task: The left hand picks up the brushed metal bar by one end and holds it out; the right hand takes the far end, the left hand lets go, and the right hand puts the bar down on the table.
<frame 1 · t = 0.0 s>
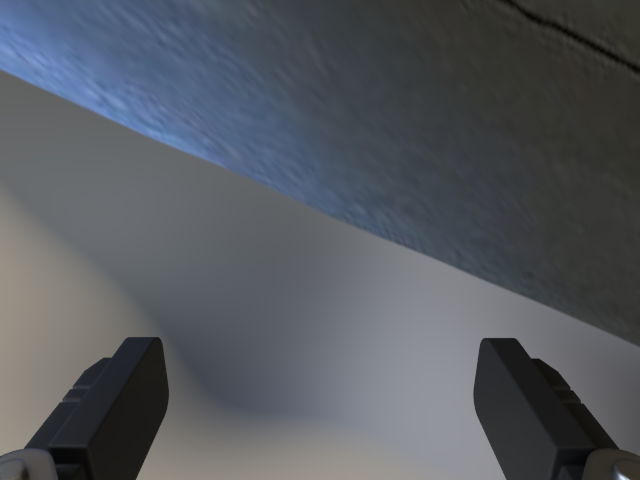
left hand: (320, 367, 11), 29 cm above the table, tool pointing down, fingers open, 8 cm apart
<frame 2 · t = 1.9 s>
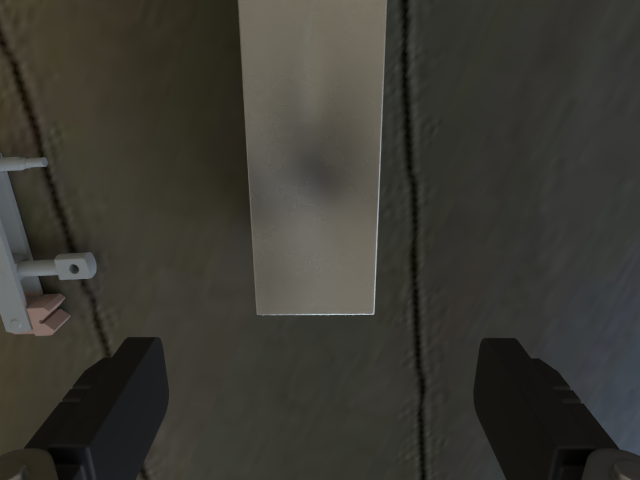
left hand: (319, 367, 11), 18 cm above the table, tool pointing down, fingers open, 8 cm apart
bar: (315, 30, 25), on the table
clamp: (10, 212, 28), on the table
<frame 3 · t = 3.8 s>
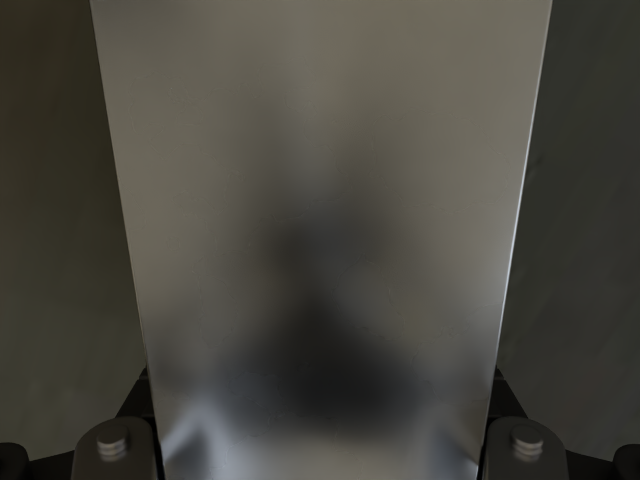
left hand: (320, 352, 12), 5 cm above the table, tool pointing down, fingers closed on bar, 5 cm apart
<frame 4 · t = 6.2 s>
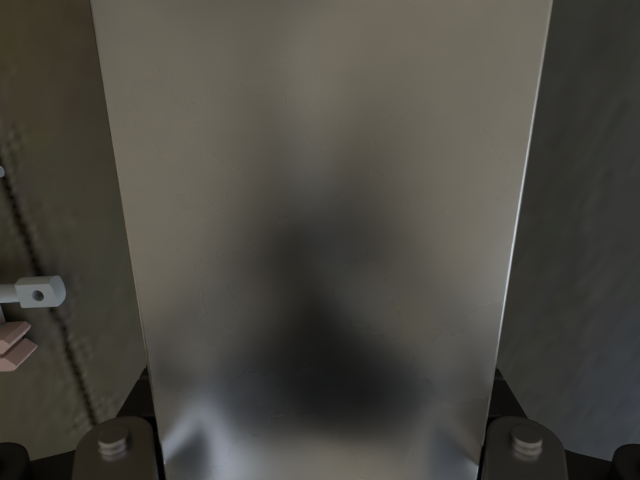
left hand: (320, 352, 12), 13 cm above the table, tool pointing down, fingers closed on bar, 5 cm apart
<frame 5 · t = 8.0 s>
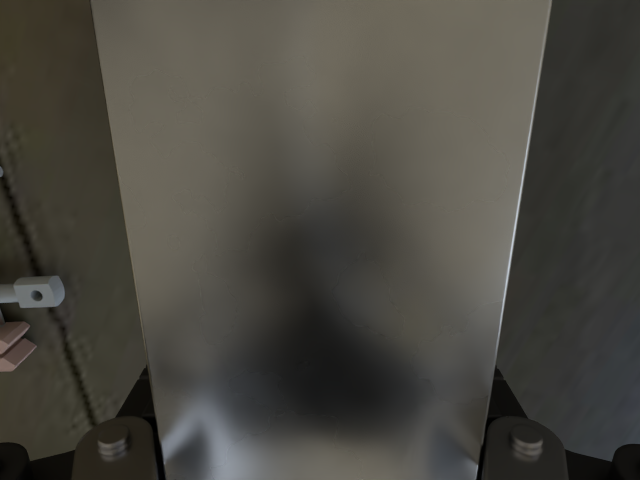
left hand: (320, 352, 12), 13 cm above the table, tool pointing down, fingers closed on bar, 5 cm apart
when the left hand's fingers open (13 cm above the table, at t = 9.0 s): bar stays where it is, held by the right hand.
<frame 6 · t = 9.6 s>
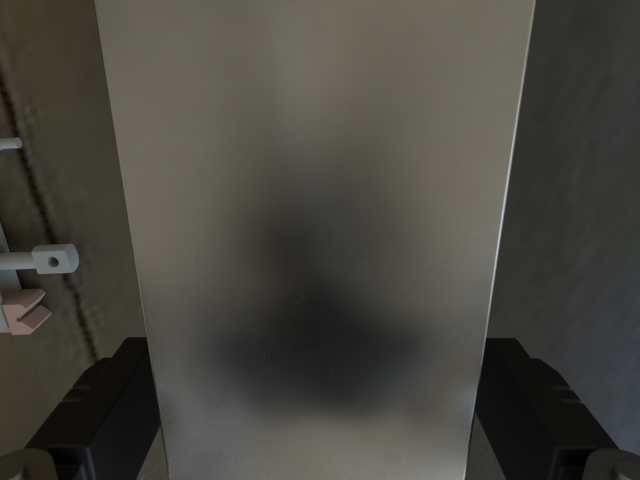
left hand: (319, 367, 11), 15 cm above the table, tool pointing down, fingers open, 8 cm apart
when the right hand's fingers open (6 cm above the table, at t = 12.5 s): bar drops 1 cm, on the table.
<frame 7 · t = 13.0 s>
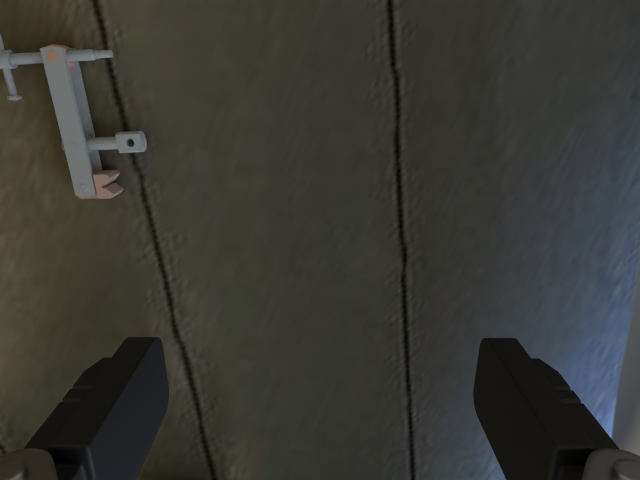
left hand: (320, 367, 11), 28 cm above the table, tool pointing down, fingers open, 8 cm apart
clamp: (79, 100, 36), on the table
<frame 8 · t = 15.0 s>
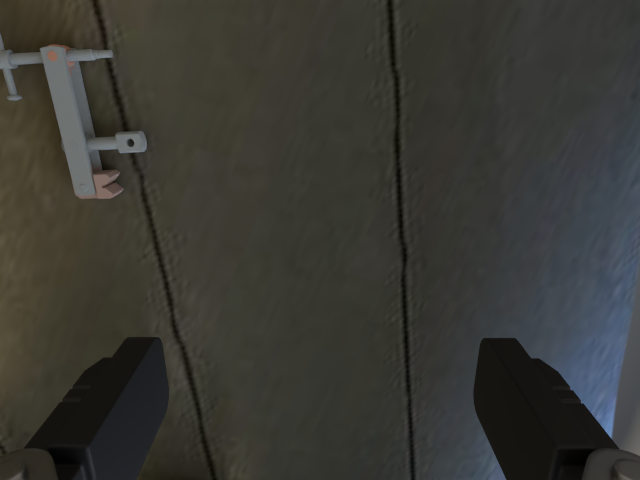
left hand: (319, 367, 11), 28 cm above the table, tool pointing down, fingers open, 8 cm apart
clamp: (79, 100, 36), on the table
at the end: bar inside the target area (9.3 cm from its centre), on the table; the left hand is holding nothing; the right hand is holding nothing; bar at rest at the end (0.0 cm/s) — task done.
